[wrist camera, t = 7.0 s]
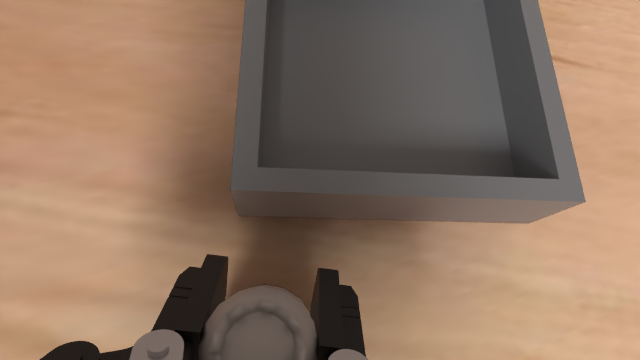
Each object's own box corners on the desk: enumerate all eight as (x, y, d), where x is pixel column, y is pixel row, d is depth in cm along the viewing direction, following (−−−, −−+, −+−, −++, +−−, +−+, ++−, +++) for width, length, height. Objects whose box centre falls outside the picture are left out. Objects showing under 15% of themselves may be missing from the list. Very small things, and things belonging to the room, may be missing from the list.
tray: (238, 215, 19) (230, 190, 15) (255, -22, 24) (252, -85, 20) (529, 223, 21) (585, 202, 17) (487, -2, 26) (524, -57, 22)
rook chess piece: (291, 411, 16) (308, 487, 9) (193, 370, 17) (129, 412, 9) (328, 306, 18) (368, 297, 11) (239, 270, 18) (215, 235, 11)
